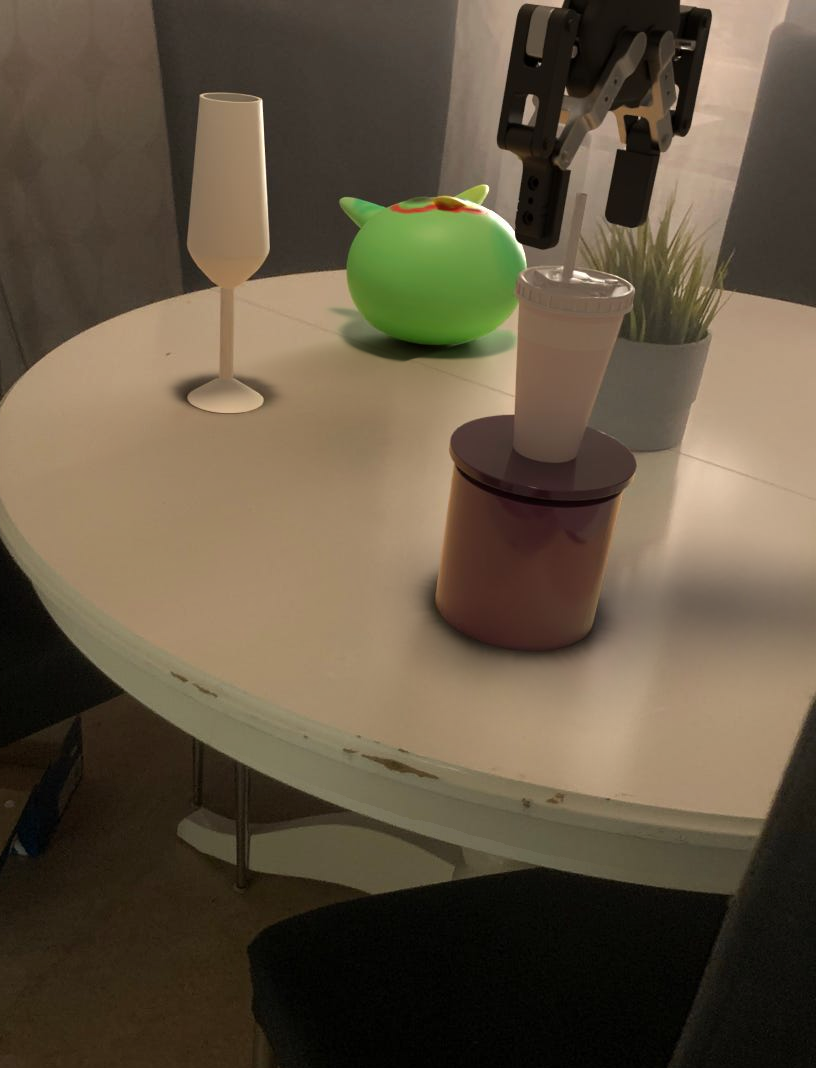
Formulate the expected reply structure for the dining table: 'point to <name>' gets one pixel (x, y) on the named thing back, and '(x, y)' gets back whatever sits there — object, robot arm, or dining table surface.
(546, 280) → the smoothie
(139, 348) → the dining table surface
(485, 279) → the green rounded blob
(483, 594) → the jar
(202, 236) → the champagne flute
